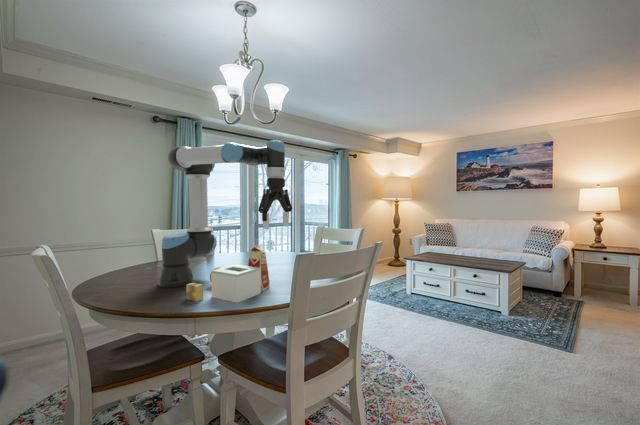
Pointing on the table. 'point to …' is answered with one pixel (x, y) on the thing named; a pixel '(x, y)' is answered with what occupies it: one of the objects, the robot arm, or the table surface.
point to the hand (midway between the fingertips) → (276, 227)
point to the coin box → (236, 282)
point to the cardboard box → (194, 291)
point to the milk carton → (260, 265)
